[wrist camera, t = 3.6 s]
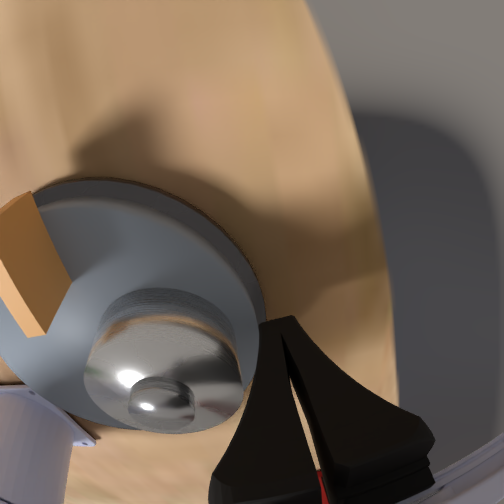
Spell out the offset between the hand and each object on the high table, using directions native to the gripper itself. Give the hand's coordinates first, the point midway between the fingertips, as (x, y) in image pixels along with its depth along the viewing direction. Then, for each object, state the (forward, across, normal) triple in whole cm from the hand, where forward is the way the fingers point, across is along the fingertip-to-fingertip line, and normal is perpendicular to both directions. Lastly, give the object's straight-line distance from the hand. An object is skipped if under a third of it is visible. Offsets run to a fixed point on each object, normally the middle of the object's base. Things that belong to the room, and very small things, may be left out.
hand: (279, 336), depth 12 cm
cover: (+1, +5, 0) cm, 5 cm away
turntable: (+3, +8, 0) cm, 8 cm away
